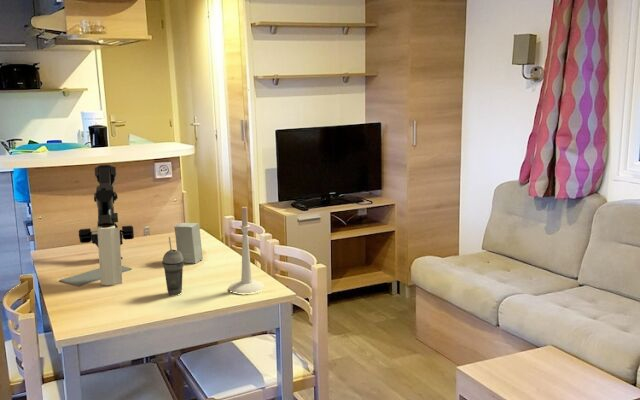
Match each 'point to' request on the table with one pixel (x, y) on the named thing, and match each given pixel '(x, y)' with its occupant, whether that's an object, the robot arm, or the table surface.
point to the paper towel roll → (109, 255)
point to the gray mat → (87, 277)
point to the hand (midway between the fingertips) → (107, 254)
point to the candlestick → (245, 263)
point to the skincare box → (189, 242)
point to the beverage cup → (173, 270)
